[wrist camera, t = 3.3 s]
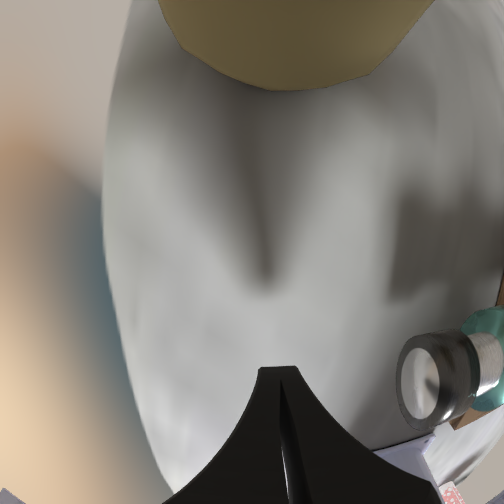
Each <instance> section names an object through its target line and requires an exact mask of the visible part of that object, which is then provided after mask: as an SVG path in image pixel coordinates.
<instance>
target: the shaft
mask: <svg viewBox="0 0 504 504" xmlns="http://www.w3.org/2000/svg"><path fill="white" fill-rule="evenodd" d="M396 390H397V397H398V402H399V406H400V409H401V412H402V414H403V416H404V418H405V420H406V421H407V422H408V424H409V425H410V426H411V427H413V428H414V429H417V430H427V429H430V428H432V427H435V426H437V425H440V424H443V423H445V422H447V421H450V420H452V419H454V418H457V417H459V416H461V415H463V414H464V413H465V412H466V411H468V409H469V408H470V407H471V408H472V409H474V410H477V411H481V412H487V411H491V410H493V409H495V408H497V407H499V406H500V405H502V404H504V305H499V306H496V307H492V308H488V309H484V310H480V311H477V312H475V313H474V314H472V315H471V316H470V317H469V318H468V319H467V320H466V321H465V322H464V324H463V325H462V327H461V329H460V330H457V329H447V330H442V331H438V332H433V333H428V334H423V335H418V336H414V337H412V338H410V339H409V340H408V341H407V342H406V344H405V345H404V347H403V349H402V351H401V353H400V356H399V360H398V364H397V371H396Z"/></svg>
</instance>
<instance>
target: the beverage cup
mask: <svg viewBox="0 0 504 504" xmlns="http://www.w3.org/2000/svg"><path fill="white" fill-rule="evenodd" d="M439 490H440V493H441V495H442V497H443V499H444V502H445V504H465V502H464V501H463V499H462V497H461V495H460V494H459V492H458V490H457V489H456V487H455V485H454V484H453V482H452V481H450V482H448V483H446V484H444V485H442V486H440V487H439Z"/></svg>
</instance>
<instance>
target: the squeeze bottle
mask: <svg viewBox="0 0 504 504" xmlns="http://www.w3.org/2000/svg"><path fill="white" fill-rule="evenodd" d="M433 1H434V0H158V2H159V5H160V7H161V10H162V13H163V15H164V18H165V20H166V22H167V24H168V25H169V27H170V29H171V30H172V32H173V34H174V36H175V37H176V39H177V41H178V43H179V44H180V46H181V48H182V49H184V50H185V51H187V52H189V53H190V54H192V55H194V56H195V57H197V58H198V59H200V60H201V61H203V62H205V63H206V64H208V65H209V66H211V67H212V68H214V69H215V70H217V71H218V72H220V73H222V74H224V75H227V76H229V77H231V78H234V79H236V80H238V81H240V82H243V83H246V84H249V85H253V86H256V87H260V88H263V89H266V90H269V91H299V90H307V89H315V88H324V87H329V86H332V85H335V84H338V83H341V82H344V81H348V80H351V79H354V78H358V77H362V76H365V75H369V74H370V73H371V72H372V71H373V70H374V69H375V68H376V67H377V66H378V65H379V64H380V63H381V62H382V61H383V60H384V59H385V58H386V57H387V56H388V55H390V54H391V53H392V52H393V50H394V49H395V48H396V47H397V45H398V44H399V43H400V42H401V40H402V39H403V38H404V37H405V36H406V34H407V33H408V32H409V31H410V29H411V28H412V27H413V26H414V24H415V23H416V22H417V21H418V19H419V18H420V17H421V16H422V15H423V13H424V12H425V11H426V10H427V8H428V7H429V6H430V5H431V4H432V2H433Z"/></svg>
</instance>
